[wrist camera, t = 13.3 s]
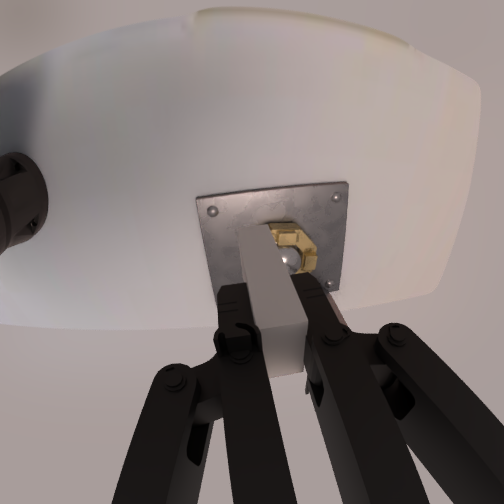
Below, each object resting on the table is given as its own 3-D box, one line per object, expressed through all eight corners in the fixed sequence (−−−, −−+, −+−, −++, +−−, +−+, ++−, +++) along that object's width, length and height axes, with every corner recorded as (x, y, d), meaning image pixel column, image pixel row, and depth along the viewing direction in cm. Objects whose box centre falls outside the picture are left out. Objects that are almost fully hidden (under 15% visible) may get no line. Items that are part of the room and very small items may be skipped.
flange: (219, 313, 48) (220, 331, 44) (196, 197, 37) (194, 209, 33) (335, 293, 50) (344, 309, 46) (345, 181, 38) (359, 191, 34)
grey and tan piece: (233, 254, 41) (246, 342, 26) (284, 209, 38) (328, 282, 24) (305, 314, 49) (335, 389, 35) (348, 281, 47) (392, 351, 32)
